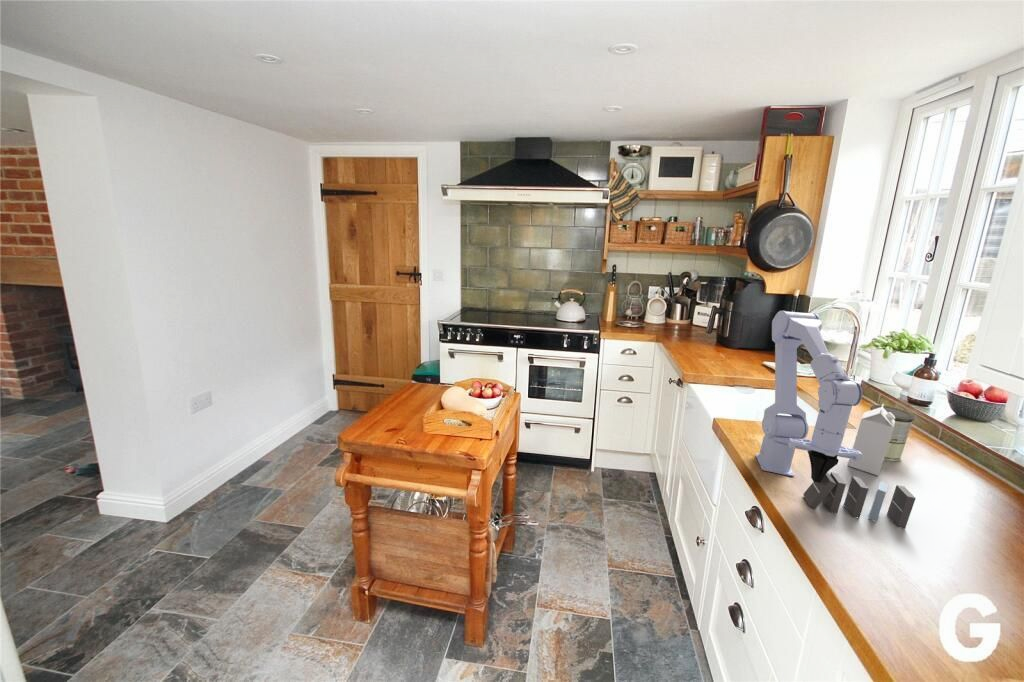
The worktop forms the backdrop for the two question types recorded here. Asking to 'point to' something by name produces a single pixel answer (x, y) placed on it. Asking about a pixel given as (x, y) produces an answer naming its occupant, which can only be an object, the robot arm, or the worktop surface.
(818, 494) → the tile
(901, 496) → the tile
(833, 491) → the tile
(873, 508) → the tile
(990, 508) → the worktop surface
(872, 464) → the milk carton
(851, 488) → the tile
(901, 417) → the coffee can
